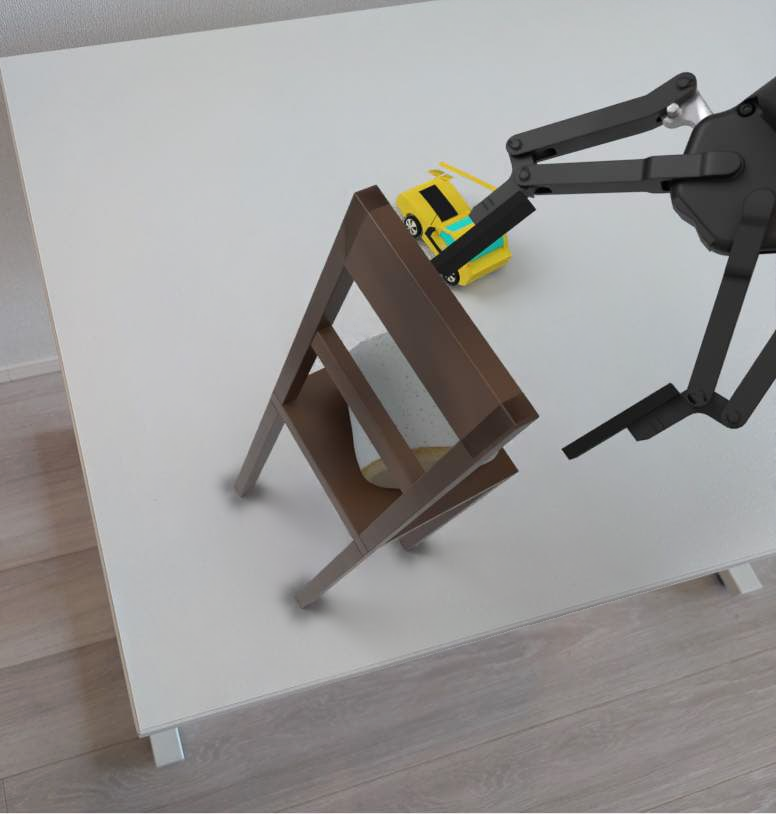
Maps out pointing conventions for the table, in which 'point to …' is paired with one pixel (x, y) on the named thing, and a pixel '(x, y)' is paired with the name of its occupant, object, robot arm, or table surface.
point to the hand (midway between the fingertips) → (500, 358)
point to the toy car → (449, 223)
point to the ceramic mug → (399, 410)
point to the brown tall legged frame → (346, 386)
